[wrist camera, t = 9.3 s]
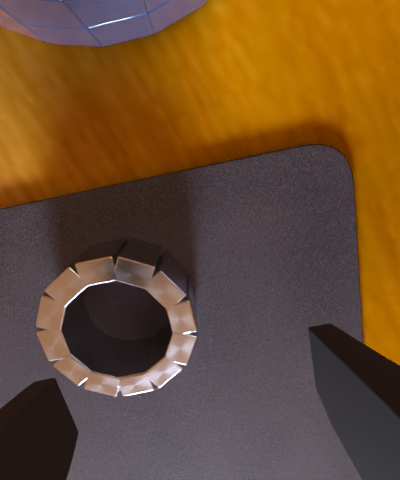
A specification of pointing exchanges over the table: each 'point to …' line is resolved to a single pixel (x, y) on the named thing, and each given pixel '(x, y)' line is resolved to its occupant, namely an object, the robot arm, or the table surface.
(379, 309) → the table surface
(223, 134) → the table surface
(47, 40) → the bowl
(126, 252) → the steel ring
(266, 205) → the mouse pad
